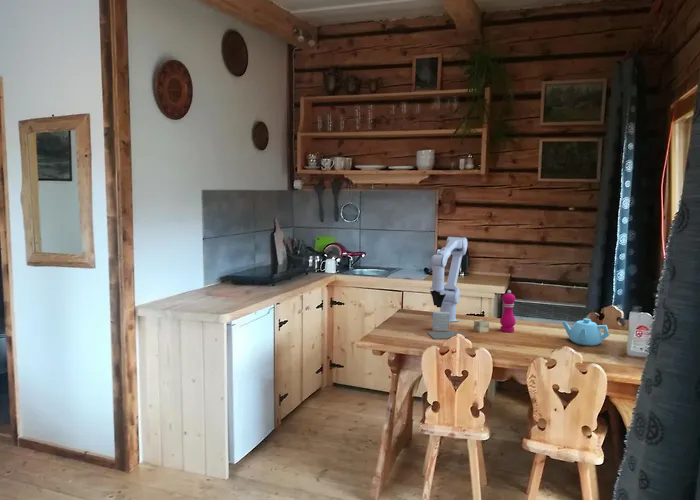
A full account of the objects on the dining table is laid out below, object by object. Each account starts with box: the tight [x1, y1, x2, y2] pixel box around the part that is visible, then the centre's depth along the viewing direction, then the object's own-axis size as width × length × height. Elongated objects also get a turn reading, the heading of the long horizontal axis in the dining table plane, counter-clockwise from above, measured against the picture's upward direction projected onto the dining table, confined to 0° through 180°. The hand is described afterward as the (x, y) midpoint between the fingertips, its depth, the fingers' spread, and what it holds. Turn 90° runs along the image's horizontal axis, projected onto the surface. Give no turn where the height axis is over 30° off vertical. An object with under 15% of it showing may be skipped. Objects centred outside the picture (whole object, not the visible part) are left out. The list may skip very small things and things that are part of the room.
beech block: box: [473, 319, 490, 334], centre depth 265 cm, size 5×5×5 cm
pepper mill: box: [499, 289, 516, 333], centre depth 265 cm, size 7×7×20 cm
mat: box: [427, 330, 468, 340], centre depth 257 cm, size 10×16×1 cm, turn 98°
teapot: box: [561, 317, 610, 347], centre depth 247 cm, size 15×15×11 cm
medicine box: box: [431, 311, 450, 332], centre depth 266 cm, size 8×4×9 cm, turn 84°
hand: (437, 306), depth 271 cm, fingers open, 4 cm apart
